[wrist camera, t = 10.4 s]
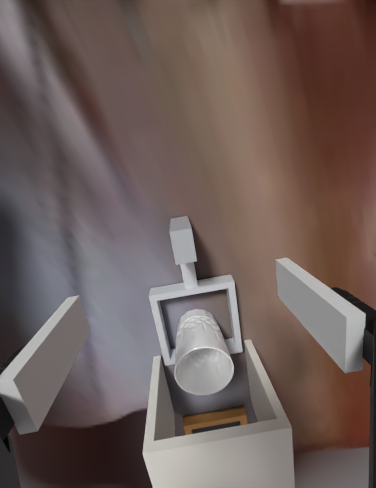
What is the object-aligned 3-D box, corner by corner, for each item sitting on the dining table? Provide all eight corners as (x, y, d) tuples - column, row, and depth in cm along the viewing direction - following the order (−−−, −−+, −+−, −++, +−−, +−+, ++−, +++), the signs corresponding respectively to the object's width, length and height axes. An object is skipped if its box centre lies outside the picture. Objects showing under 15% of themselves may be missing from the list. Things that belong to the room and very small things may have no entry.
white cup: (221, 342, 41) (235, 391, 32) (177, 347, 41) (177, 399, 32) (218, 302, 39) (232, 343, 30) (171, 308, 39) (170, 351, 30)
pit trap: (183, 416, 46) (183, 426, 44) (243, 405, 46) (246, 414, 44) (189, 445, 48) (190, 455, 46) (247, 435, 48) (250, 444, 46)
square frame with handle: (135, 224, 35) (123, 240, 26) (222, 209, 35) (237, 220, 26) (165, 354, 41) (163, 400, 33) (238, 341, 41) (255, 383, 33)
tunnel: (153, 356, 41) (142, 454, 27) (250, 339, 42) (291, 427, 27) (168, 415, 45) (165, 528, 31) (256, 399, 46) (295, 504, 31)
